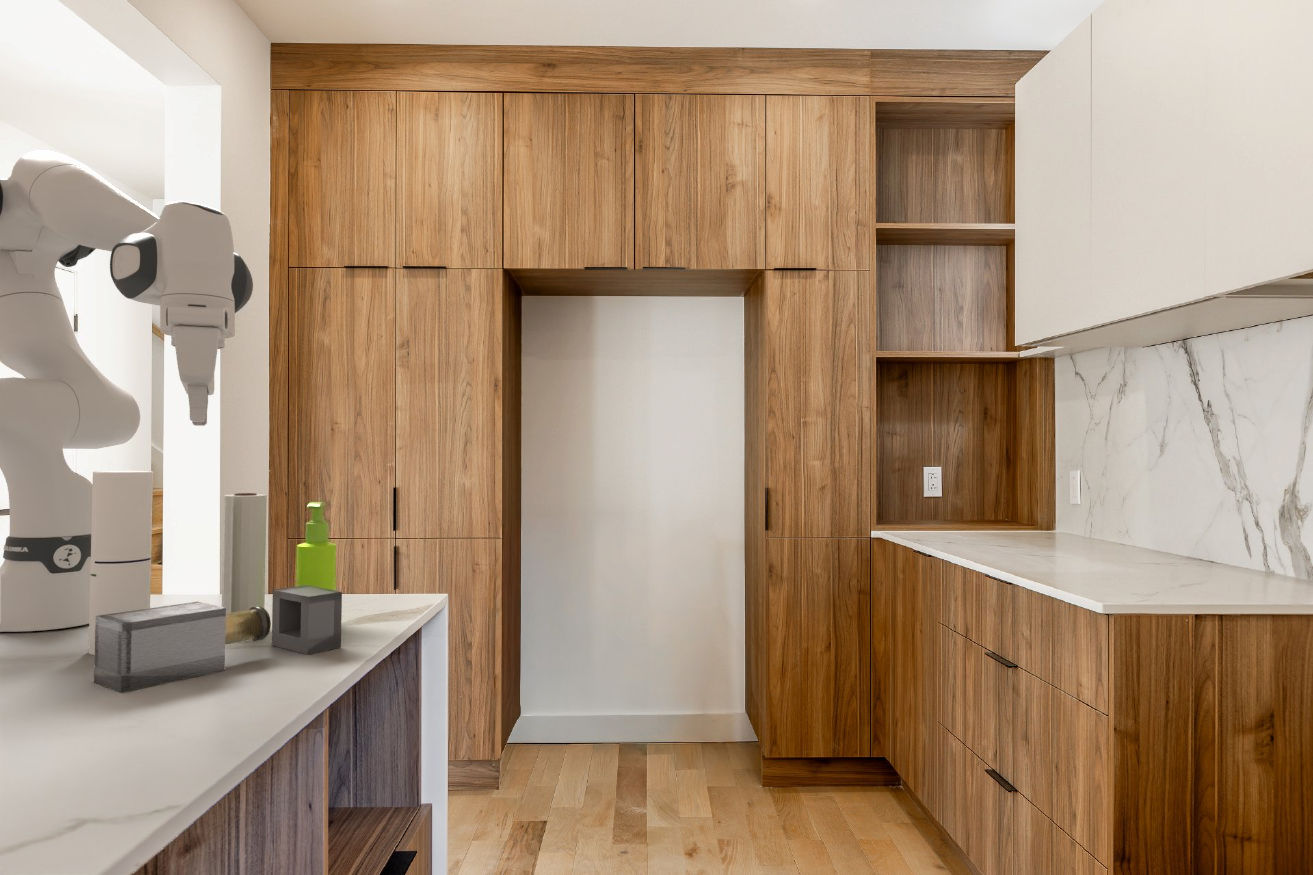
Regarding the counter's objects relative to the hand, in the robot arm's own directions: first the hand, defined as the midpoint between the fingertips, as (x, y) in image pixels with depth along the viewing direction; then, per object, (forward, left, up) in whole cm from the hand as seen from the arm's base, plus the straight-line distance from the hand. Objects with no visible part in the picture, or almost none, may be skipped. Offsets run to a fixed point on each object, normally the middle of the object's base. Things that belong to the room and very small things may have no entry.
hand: (198, 423), depth 110 cm
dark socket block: (+5, +13, -32) cm, 35 cm away
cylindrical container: (-14, -3, -32) cm, 35 cm away
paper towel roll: (-12, +13, -32) cm, 36 cm away
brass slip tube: (+5, -1, -30) cm, 30 cm away
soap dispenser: (-6, +22, -32) cm, 39 cm away
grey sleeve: (+5, -6, -32) cm, 33 cm away
